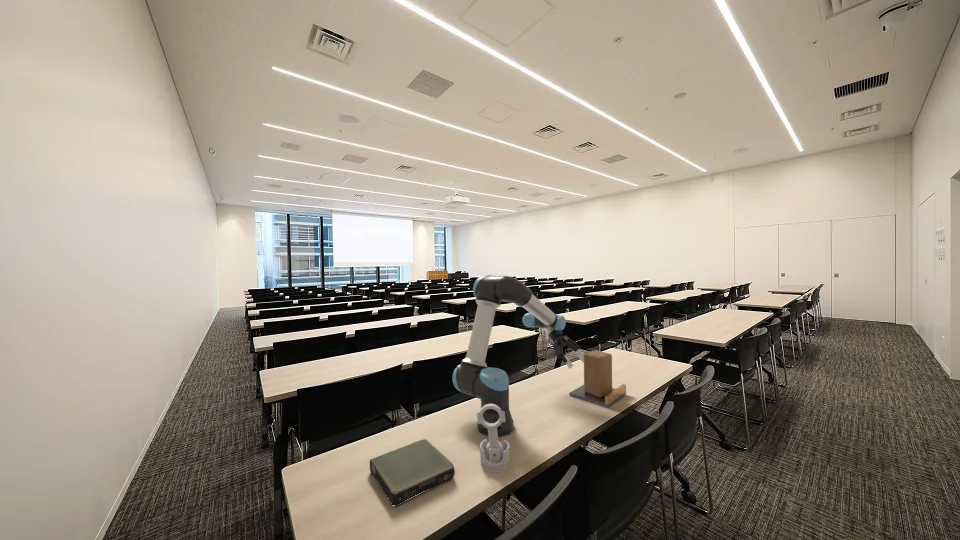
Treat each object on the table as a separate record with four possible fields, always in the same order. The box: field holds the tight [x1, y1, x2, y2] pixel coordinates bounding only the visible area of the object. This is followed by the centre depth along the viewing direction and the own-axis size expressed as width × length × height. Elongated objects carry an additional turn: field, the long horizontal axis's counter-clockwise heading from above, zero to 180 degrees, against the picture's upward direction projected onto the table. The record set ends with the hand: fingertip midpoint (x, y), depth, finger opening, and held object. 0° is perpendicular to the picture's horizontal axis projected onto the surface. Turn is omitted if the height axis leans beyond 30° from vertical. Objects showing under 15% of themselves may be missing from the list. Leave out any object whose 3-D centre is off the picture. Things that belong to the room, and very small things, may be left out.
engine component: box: [476, 404, 511, 473], centre depth 115 cm, size 11×20×10 cm
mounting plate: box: [568, 383, 627, 409], centre depth 168 cm, size 20×20×5 cm
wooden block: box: [583, 349, 613, 398], centre depth 167 cm, size 10×10×20 cm
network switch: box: [369, 438, 456, 506], centre depth 110 cm, size 23×23×5 cm
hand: (578, 364), depth 175 cm, fingers open, 13 cm apart
